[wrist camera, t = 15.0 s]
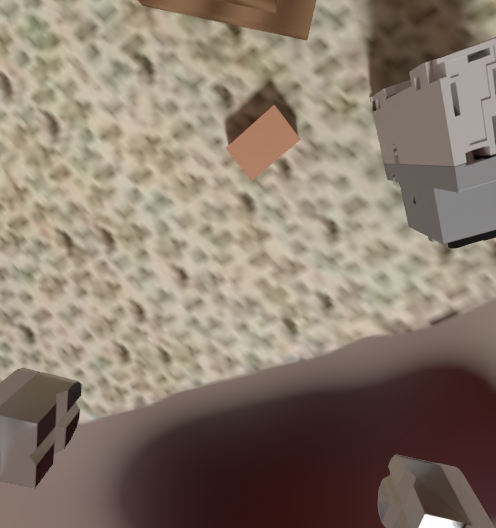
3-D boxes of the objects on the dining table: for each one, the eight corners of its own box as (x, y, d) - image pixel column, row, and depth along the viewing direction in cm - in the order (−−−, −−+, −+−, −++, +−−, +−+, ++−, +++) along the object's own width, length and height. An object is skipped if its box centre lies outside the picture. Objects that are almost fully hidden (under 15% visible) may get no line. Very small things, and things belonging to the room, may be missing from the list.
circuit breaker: (399, 234, 38) (473, 280, 24) (369, 97, 35) (435, 54, 20) (472, 214, 37) (597, 249, 23) (449, 69, 33) (579, 2, 19)
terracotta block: (253, 179, 38) (251, 180, 35) (229, 148, 37) (225, 148, 34) (298, 140, 36) (300, 139, 34) (274, 108, 36) (274, 104, 33)
